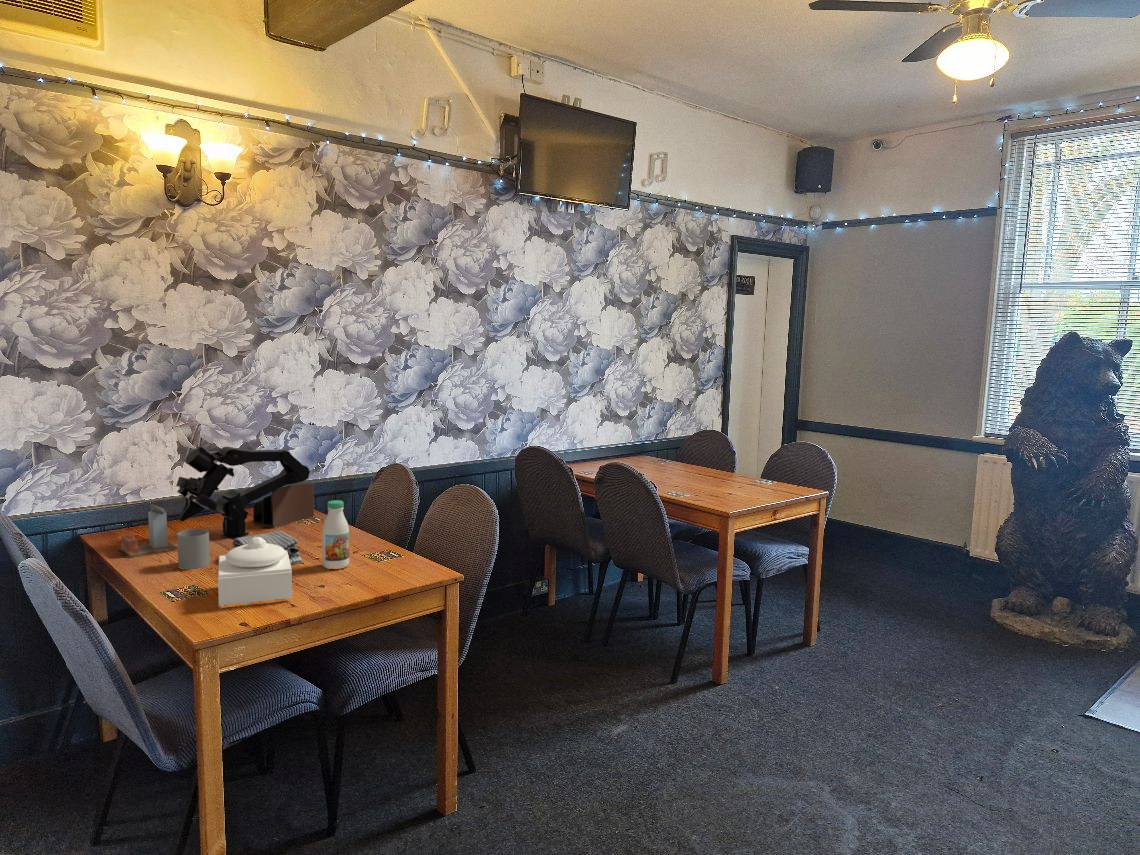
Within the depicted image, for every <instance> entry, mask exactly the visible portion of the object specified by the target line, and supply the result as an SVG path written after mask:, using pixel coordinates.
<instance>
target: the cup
mask: <svg viewBox="0 0 1140 855" xmlns="http://www.w3.org/2000/svg"><path fill="white" fill-rule="evenodd" d="M176 537H177V538H176V539H177V564H178V568H179V567H180V568H183V569H182V570H184V569H194V570H199V569H198V568H201V569H203V567H204V568H206V567H205V566H207V565H209V566H210V564H209V563H211V562H210V560H211V559H210V530H208V529H204V528H191V529H184V530H181V531H179V532H177V534H176ZM207 567H208V566H207ZM180 568H179V569H180Z"/></svg>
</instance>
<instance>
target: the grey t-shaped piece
mask: <svg viewBox="0 0 1140 855" xmlns="http://www.w3.org/2000/svg"><path fill="white" fill-rule="evenodd" d="M149 509H150V511H147V514H148V515H147V517H148V544H149V546H151V547H152V548H160V547H166V546H168V542H169V541H168V521H167V520H168V519H167V518H168V517H167V511H165V509H164V508H162V507H161V506H158V505H156V504H154V503H152V504H150V505H149ZM167 541H168V542H167Z"/></svg>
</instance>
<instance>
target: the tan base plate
mask: <svg viewBox="0 0 1140 855" xmlns="http://www.w3.org/2000/svg"><path fill="white" fill-rule="evenodd" d="M138 542H139V540H138V539H137V538H136V537H134V536H132V535H131V534H127V535H121V536H120V543H121V548H120V552H121V553H123V554H124V555H125V554H126V556H127V555H128V556H129V557H128V556H127V557H128V558H130V557H133V558H136V557H135V556H138V557H141V556H140V555H144V556H147V555H146V554H149V555H152V554H151V553H155V554H157V553H156V552H161V553H163V552H162V551H166V552H168V551H167V550H172V551H176V550H175V549H177V550H178V546H177V545H175V544H173V543H171V542H169V540H167V542H168V546H166V547H160V548H152V547H151V546H149V543H147V544H146V543H145V544H141V545H139V543H138Z"/></svg>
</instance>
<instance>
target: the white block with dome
mask: <svg viewBox="0 0 1140 855" xmlns="http://www.w3.org/2000/svg"><path fill="white" fill-rule="evenodd" d="M292 574H293V570H292V565H291V564H290V560H289V556H288V552H287V550H284V549H283V548H282V547H280V546H277V545H274V544H269V543H266V541H265V540H264V539H263V538H261V537H254V538H252V539H251V540H250V541H249V542H248V544H246V545H242V546H239V547H236V548H234V547H233V548H232V549H230V550H229V551H228V552H227V553H226V554H224V555H219V558H218V572H217V584H218V585H217V587H218V588H217V590H218V592H217V593H218V607H219V606H224V605H233V604H241V603H251V602H259V601H268V600H275V599H283V598H284V599H285V598H292V599H293V578H292V576H293V575H292Z"/></svg>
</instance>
